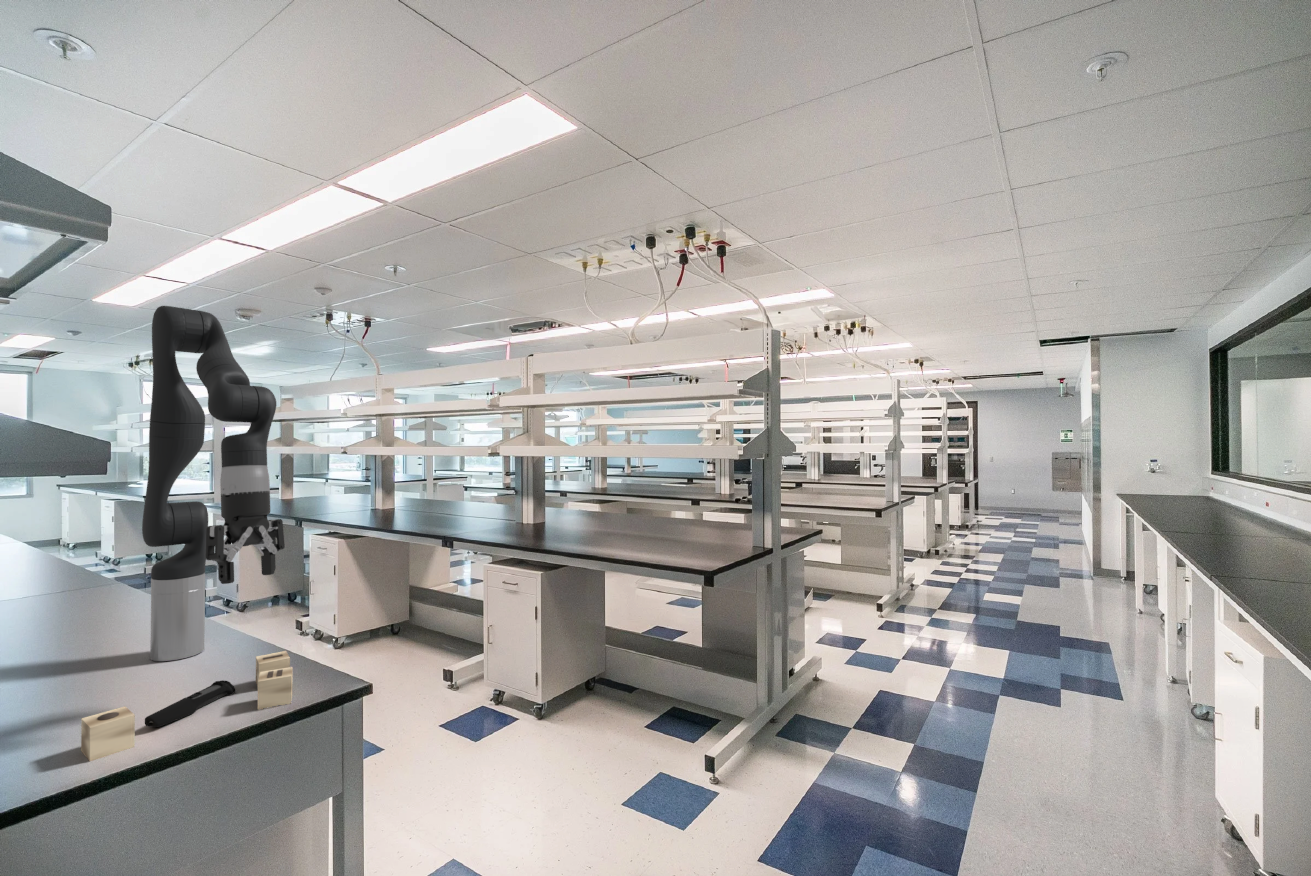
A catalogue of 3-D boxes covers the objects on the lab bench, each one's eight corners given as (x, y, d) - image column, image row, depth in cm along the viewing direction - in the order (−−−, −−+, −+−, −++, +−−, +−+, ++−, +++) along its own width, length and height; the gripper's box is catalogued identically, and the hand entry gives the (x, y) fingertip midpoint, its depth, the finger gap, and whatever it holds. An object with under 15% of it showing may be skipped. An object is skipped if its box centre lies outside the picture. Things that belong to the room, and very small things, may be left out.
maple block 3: (260, 699, 106) (260, 671, 106) (292, 693, 109) (292, 666, 109) (257, 710, 102) (257, 680, 102) (291, 703, 105) (291, 675, 105)
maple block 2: (255, 682, 114) (255, 655, 114) (285, 675, 117) (285, 650, 117) (258, 690, 110) (258, 663, 110) (289, 683, 113) (290, 657, 113)
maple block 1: (81, 751, 88) (81, 717, 88) (124, 737, 92) (125, 705, 92) (89, 762, 85) (90, 726, 85) (134, 747, 90) (134, 713, 90)
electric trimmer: (136, 734, 94) (136, 715, 94) (219, 692, 110) (219, 675, 110) (157, 736, 94) (157, 716, 94) (237, 693, 109) (237, 676, 109)
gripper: (261, 491, 117) (264, 573, 116) (191, 494, 103) (194, 587, 102) (293, 488, 115) (296, 571, 114) (227, 490, 101) (230, 585, 100)
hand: (248, 578), depth 108 cm, fingers open, 8 cm apart
